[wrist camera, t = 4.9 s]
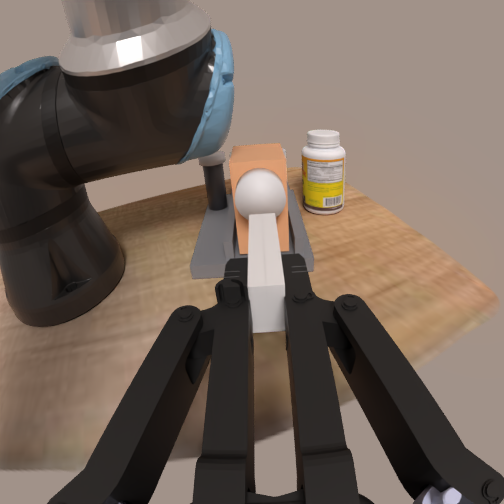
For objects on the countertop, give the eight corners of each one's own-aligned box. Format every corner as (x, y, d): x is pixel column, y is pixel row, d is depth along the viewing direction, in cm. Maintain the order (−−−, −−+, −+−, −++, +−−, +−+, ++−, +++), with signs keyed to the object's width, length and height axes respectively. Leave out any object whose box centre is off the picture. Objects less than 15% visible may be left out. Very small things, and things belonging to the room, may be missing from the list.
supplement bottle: (314, 196, 44) (313, 126, 38) (349, 204, 41) (352, 131, 35) (295, 210, 40) (292, 133, 35) (333, 220, 37) (335, 138, 32)
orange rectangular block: (239, 266, 27) (227, 170, 23) (241, 224, 34) (233, 146, 29) (291, 263, 27) (288, 166, 22) (283, 221, 34) (279, 143, 29)
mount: (192, 279, 29) (177, 207, 25) (212, 205, 44) (204, 155, 40) (313, 271, 29) (315, 197, 25) (293, 199, 43) (291, 148, 39)
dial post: (204, 213, 38) (196, 159, 34) (207, 202, 41) (200, 152, 37) (230, 210, 38) (223, 156, 34) (231, 200, 41) (225, 149, 37)
